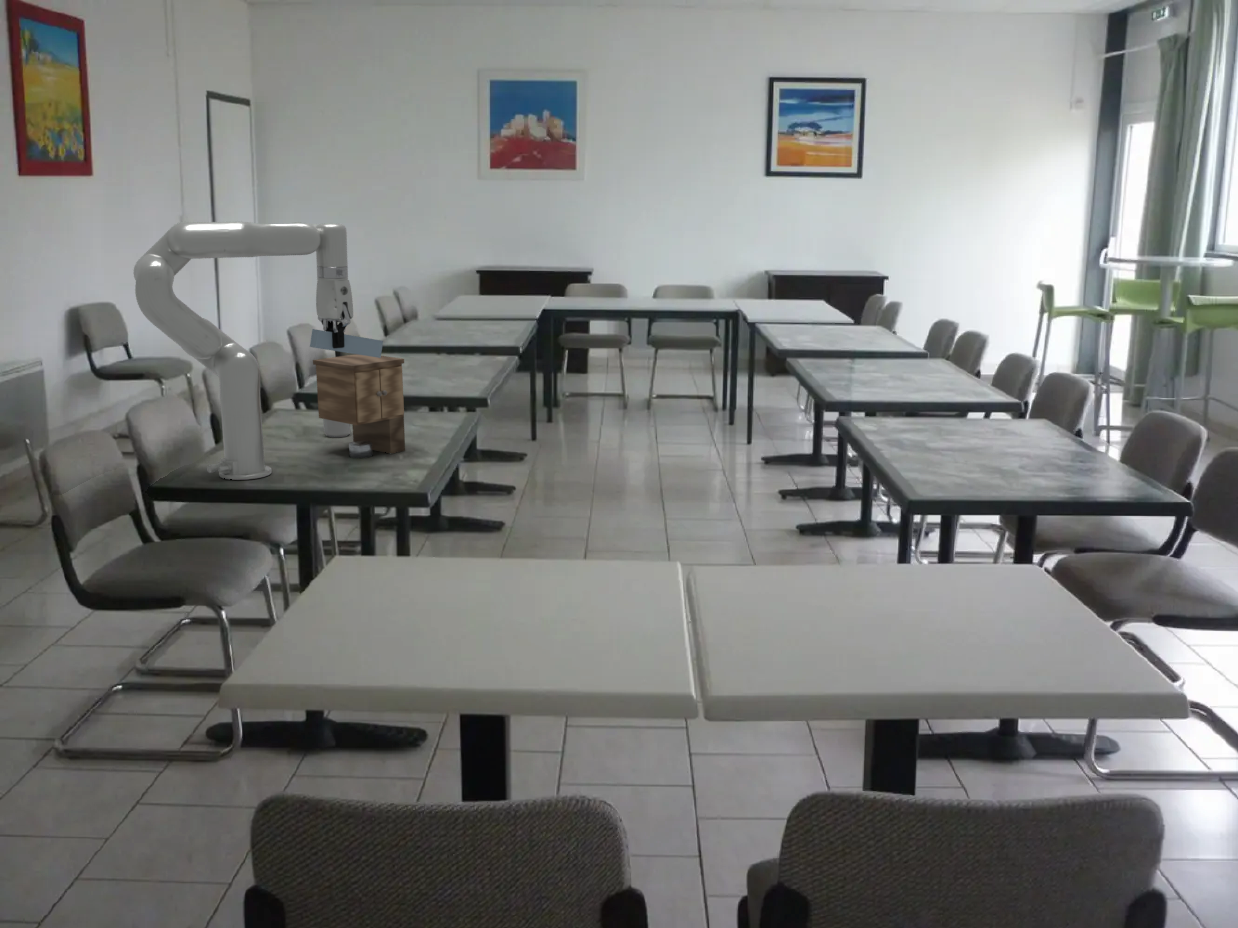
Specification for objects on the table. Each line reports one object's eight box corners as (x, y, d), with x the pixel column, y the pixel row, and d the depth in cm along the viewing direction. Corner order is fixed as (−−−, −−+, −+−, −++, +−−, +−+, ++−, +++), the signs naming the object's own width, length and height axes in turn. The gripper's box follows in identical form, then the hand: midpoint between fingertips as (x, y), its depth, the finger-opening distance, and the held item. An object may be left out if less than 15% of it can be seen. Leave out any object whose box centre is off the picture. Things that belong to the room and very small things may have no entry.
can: (354, 433, 360) (352, 392, 357) (346, 438, 352) (343, 397, 350) (329, 432, 360) (326, 392, 358) (320, 437, 353) (318, 396, 350)
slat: (315, 347, 306) (318, 329, 306) (309, 346, 308) (312, 328, 308) (380, 357, 321) (383, 340, 321) (374, 356, 323) (377, 339, 323)
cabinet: (360, 462, 323) (356, 366, 317) (318, 452, 334) (312, 359, 329) (411, 451, 335) (407, 359, 330) (368, 442, 347) (363, 353, 341)
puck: (359, 459, 326) (358, 446, 326) (344, 456, 330) (344, 443, 329) (377, 455, 331) (376, 443, 330) (362, 452, 335) (362, 440, 334)
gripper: (364, 275, 305) (366, 349, 309) (326, 271, 316) (329, 343, 320) (338, 276, 300) (340, 351, 304) (301, 272, 311) (304, 345, 315)
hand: (334, 346), depth 312 cm, fingers closed on slat, 2 cm apart
